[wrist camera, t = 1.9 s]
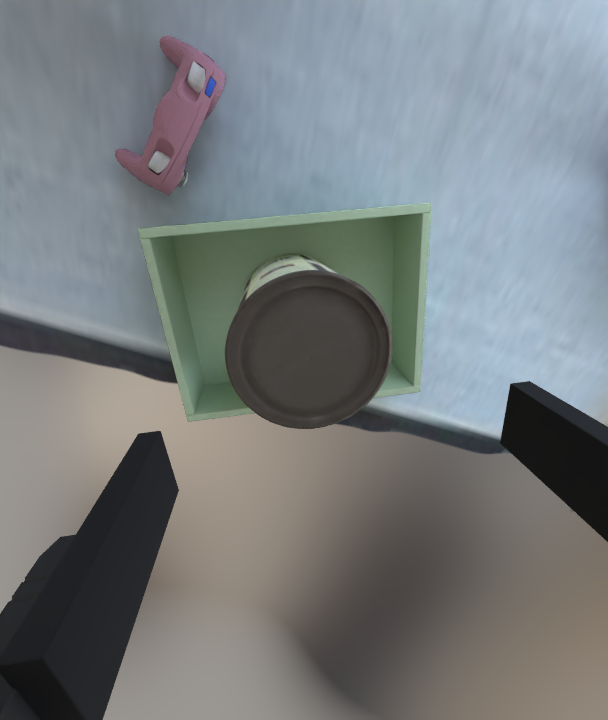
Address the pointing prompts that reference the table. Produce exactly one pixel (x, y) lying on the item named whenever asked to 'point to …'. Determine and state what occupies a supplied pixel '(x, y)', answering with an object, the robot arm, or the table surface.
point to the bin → (261, 242)
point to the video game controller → (176, 118)
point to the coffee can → (306, 344)
